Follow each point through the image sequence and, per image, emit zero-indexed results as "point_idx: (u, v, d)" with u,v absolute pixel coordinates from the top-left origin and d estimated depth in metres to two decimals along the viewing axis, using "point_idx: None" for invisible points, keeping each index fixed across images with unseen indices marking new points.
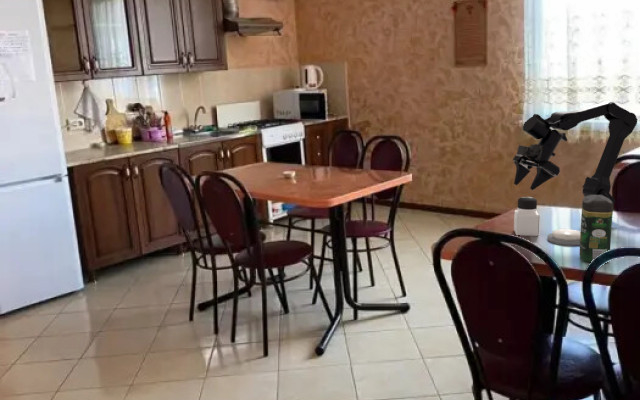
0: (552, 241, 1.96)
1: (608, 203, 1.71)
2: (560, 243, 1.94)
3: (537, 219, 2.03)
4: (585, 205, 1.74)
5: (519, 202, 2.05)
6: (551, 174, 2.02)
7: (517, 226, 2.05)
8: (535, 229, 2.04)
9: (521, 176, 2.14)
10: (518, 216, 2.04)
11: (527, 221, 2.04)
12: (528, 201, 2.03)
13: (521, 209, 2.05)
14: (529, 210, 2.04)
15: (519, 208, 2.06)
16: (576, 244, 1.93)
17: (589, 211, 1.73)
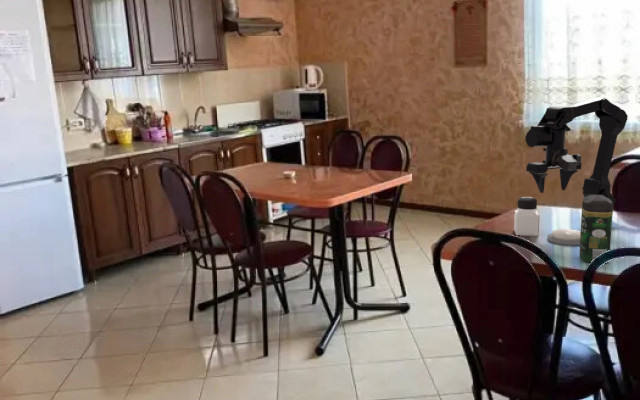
0: (552, 241, 1.96)
1: (608, 203, 1.71)
2: (560, 243, 1.94)
3: (537, 219, 2.03)
4: (585, 205, 1.74)
5: (519, 202, 2.05)
6: None
7: (517, 226, 2.05)
8: (535, 229, 2.04)
9: None
10: (518, 216, 2.04)
11: (527, 221, 2.04)
12: (528, 201, 2.03)
13: (521, 209, 2.05)
14: (529, 210, 2.04)
15: (519, 208, 2.06)
16: (576, 244, 1.93)
17: (589, 211, 1.73)
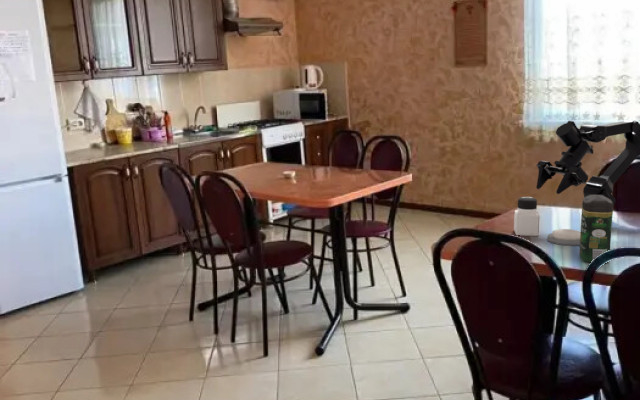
0: (552, 241, 1.96)
1: (608, 203, 1.71)
2: (560, 243, 1.94)
3: (537, 219, 2.03)
4: (585, 205, 1.74)
5: (519, 202, 2.05)
6: None
7: (517, 226, 2.05)
8: (535, 229, 2.04)
9: None
10: (518, 216, 2.04)
11: (527, 221, 2.04)
12: (528, 201, 2.03)
13: (521, 209, 2.05)
14: (529, 210, 2.04)
15: (519, 208, 2.06)
16: (576, 244, 1.93)
17: (589, 211, 1.73)
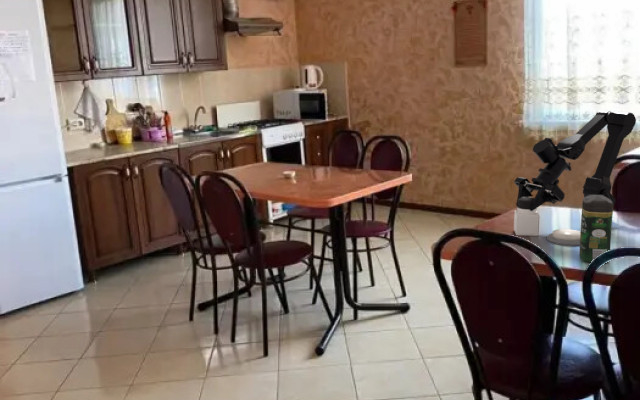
0: (552, 241, 1.96)
1: (608, 203, 1.71)
2: (560, 243, 1.94)
3: (537, 219, 2.03)
4: (585, 205, 1.74)
5: (519, 202, 2.05)
6: None
7: (517, 226, 2.05)
8: (535, 229, 2.04)
9: None
10: (518, 216, 2.04)
11: (527, 221, 2.04)
12: (528, 201, 2.03)
13: (521, 209, 2.05)
14: (529, 210, 2.04)
15: (519, 208, 2.06)
16: (576, 244, 1.93)
17: (589, 211, 1.73)
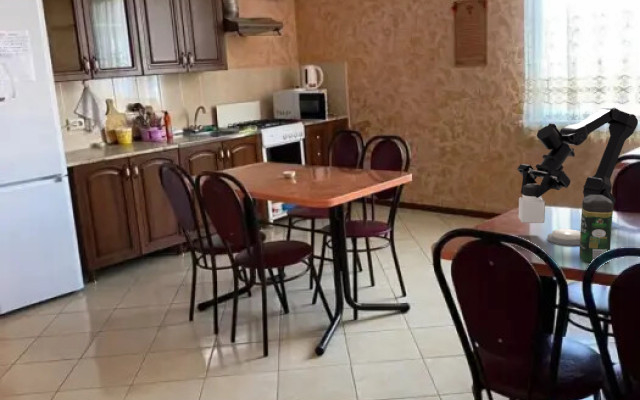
0: (552, 241, 1.96)
1: (608, 203, 1.71)
2: (560, 243, 1.94)
3: (543, 206, 2.01)
4: (585, 205, 1.74)
5: (524, 189, 2.03)
6: None
7: (523, 213, 2.03)
8: (540, 216, 2.02)
9: None
10: (524, 203, 2.02)
11: (533, 208, 2.02)
12: (534, 188, 2.01)
13: (526, 196, 2.03)
14: (535, 197, 2.01)
15: (524, 195, 2.03)
16: (576, 244, 1.93)
17: (589, 211, 1.73)
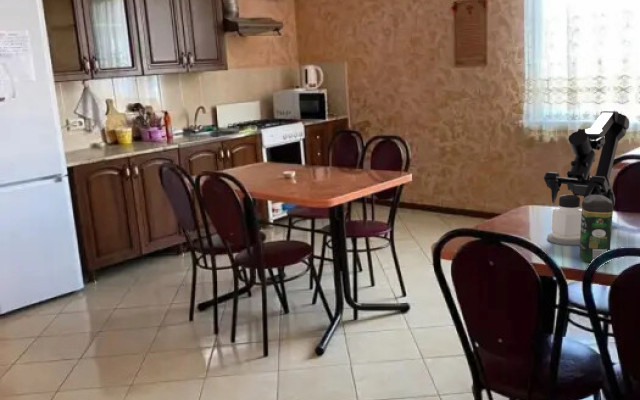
0: (552, 241, 1.96)
1: (608, 203, 1.71)
2: (560, 243, 1.94)
3: None
4: (585, 205, 1.74)
5: (564, 201, 1.94)
6: None
7: (566, 226, 1.94)
8: None
9: None
10: (567, 215, 1.93)
11: (575, 220, 1.94)
12: (575, 199, 1.93)
13: (567, 208, 1.94)
14: (576, 208, 1.94)
15: (565, 207, 1.94)
16: (576, 244, 1.93)
17: (589, 211, 1.73)
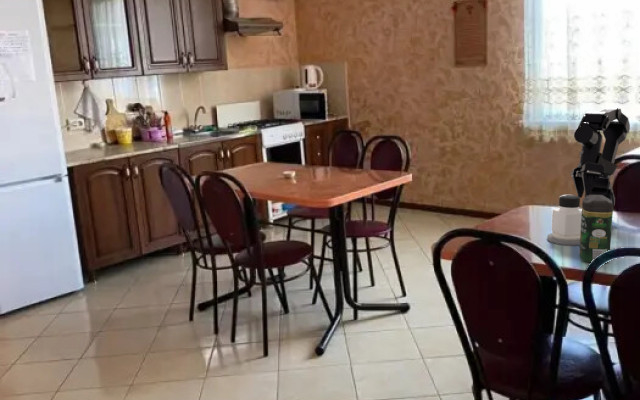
0: (552, 241, 1.96)
1: (608, 203, 1.71)
2: (560, 243, 1.94)
3: None
4: (585, 205, 1.74)
5: (564, 201, 1.94)
6: None
7: (566, 226, 1.94)
8: None
9: None
10: (567, 215, 1.93)
11: (575, 220, 1.94)
12: (575, 199, 1.93)
13: (567, 208, 1.94)
14: (576, 208, 1.94)
15: (565, 207, 1.94)
16: (576, 244, 1.93)
17: (589, 211, 1.73)
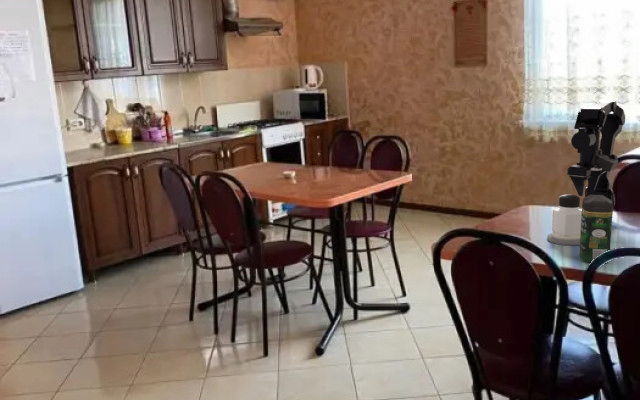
0: (552, 241, 1.96)
1: (608, 203, 1.71)
2: (560, 243, 1.94)
3: None
4: (585, 205, 1.74)
5: (564, 201, 1.94)
6: None
7: (566, 226, 1.94)
8: None
9: None
10: (567, 215, 1.93)
11: (575, 220, 1.94)
12: (575, 199, 1.93)
13: (567, 208, 1.94)
14: (576, 208, 1.94)
15: (565, 207, 1.94)
16: (576, 244, 1.93)
17: (589, 211, 1.73)
